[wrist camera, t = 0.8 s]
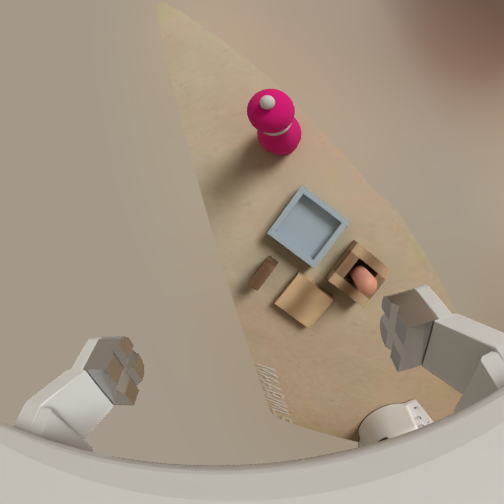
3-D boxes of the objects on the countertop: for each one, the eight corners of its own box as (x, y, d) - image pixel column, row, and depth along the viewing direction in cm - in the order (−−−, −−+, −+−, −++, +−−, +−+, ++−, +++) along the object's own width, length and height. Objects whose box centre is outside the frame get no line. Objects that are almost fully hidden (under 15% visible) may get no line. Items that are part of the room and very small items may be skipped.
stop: (277, 262, 52) (274, 267, 47) (261, 283, 53) (257, 290, 48) (269, 255, 52) (265, 260, 47) (253, 276, 53) (247, 283, 49)
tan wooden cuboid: (332, 296, 52) (333, 300, 49) (309, 323, 53) (309, 328, 51) (298, 270, 52) (298, 273, 50) (276, 299, 54) (274, 303, 51)
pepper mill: (262, 159, 50) (236, 132, 30) (260, 122, 49) (233, 77, 29) (303, 156, 48) (301, 126, 29) (299, 119, 47) (294, 70, 28)
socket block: (385, 266, 49) (391, 271, 45) (359, 300, 50) (363, 307, 46) (353, 240, 49) (357, 242, 45) (326, 275, 51) (328, 280, 47)
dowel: (368, 269, 49) (381, 283, 40) (357, 282, 50) (368, 298, 40) (355, 259, 49) (367, 271, 40) (345, 272, 50) (354, 287, 40)
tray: (347, 220, 49) (350, 221, 46) (313, 265, 51) (314, 268, 48) (302, 186, 49) (302, 185, 46) (269, 231, 52) (267, 233, 49)
